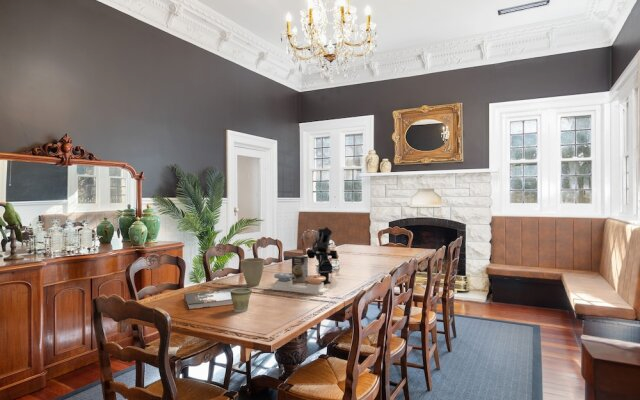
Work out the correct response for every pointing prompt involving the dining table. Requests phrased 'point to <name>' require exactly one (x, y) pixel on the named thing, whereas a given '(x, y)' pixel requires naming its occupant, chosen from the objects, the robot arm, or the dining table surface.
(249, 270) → the plant pot
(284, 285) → the key console
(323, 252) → the robot arm
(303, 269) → the coffee box
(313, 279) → the brown round domed piece
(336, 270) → the dining table surface
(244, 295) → the ceramic cup
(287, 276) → the two dot key
